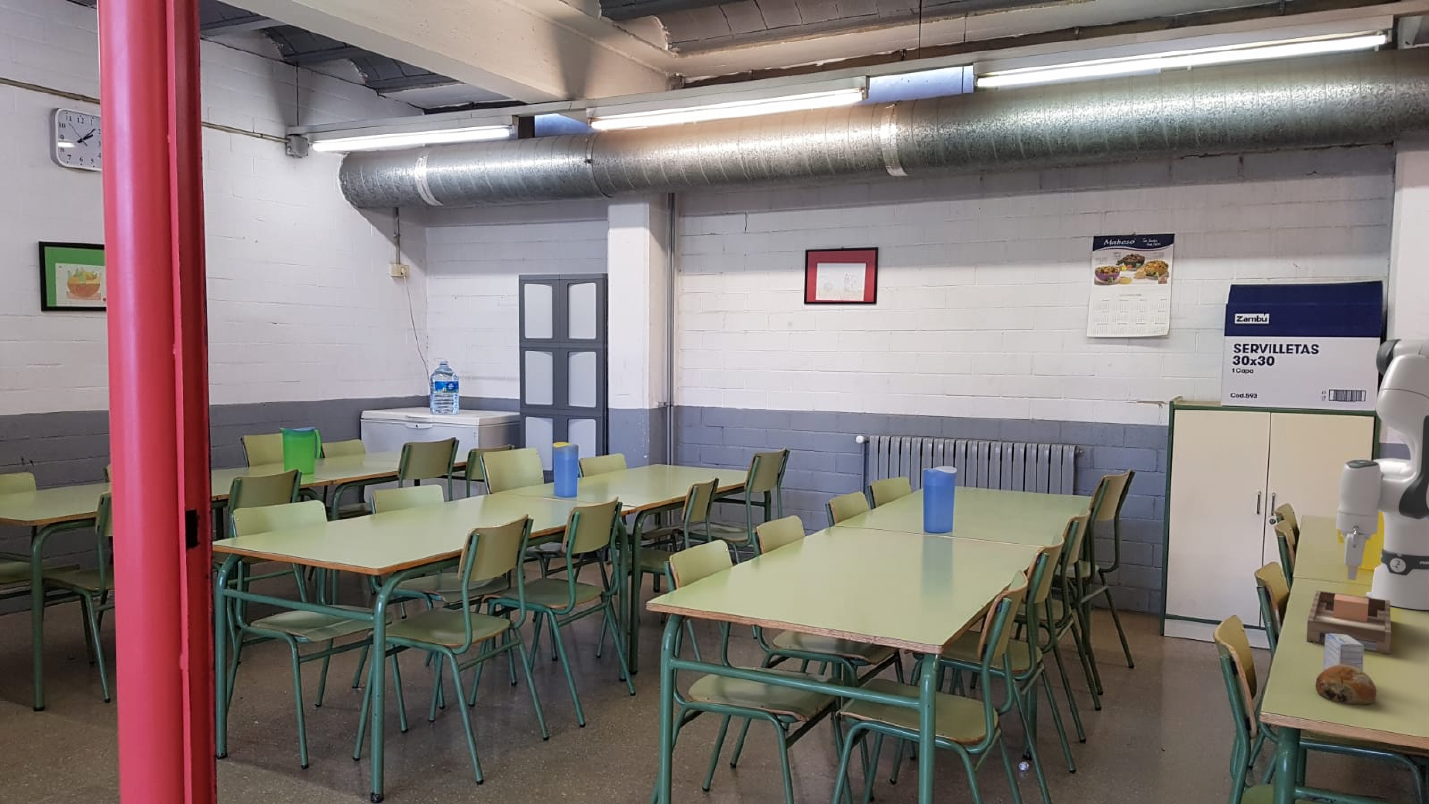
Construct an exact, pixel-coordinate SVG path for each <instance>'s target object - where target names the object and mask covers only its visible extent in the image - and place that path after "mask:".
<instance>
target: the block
mask: <svg viewBox="0 0 1429 804" xmlns="http://www.w3.org/2000/svg"><path fill="white" fill-rule="evenodd" d="M1340 594H1341V593H1338V594H1335V598H1334V610H1333V618H1340V619H1347V620H1354V621H1360V622H1367V617H1368V602H1369V598H1370V597H1368V598H1362V597H1363V596H1360V597H1355V596H1356V595H1353V596H1348V595H1349V594H1346V595H1340Z"/></svg>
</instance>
